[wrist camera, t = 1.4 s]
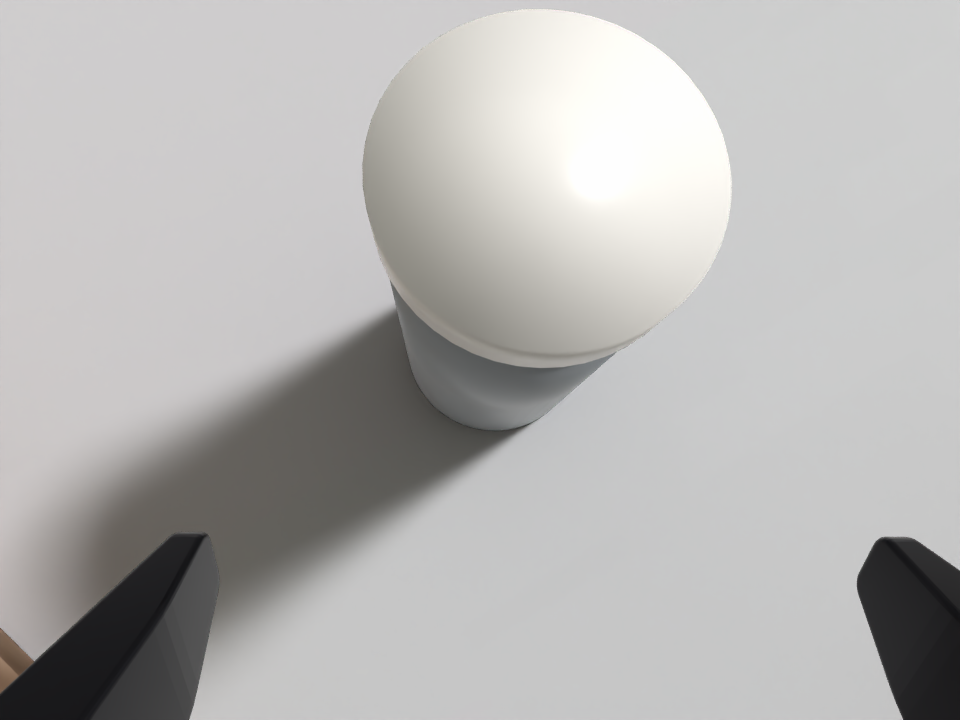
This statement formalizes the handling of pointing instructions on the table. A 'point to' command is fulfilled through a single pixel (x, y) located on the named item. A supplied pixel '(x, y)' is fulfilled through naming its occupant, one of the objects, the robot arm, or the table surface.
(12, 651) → the pusher lane
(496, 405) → the grey jar
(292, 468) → the table surface
